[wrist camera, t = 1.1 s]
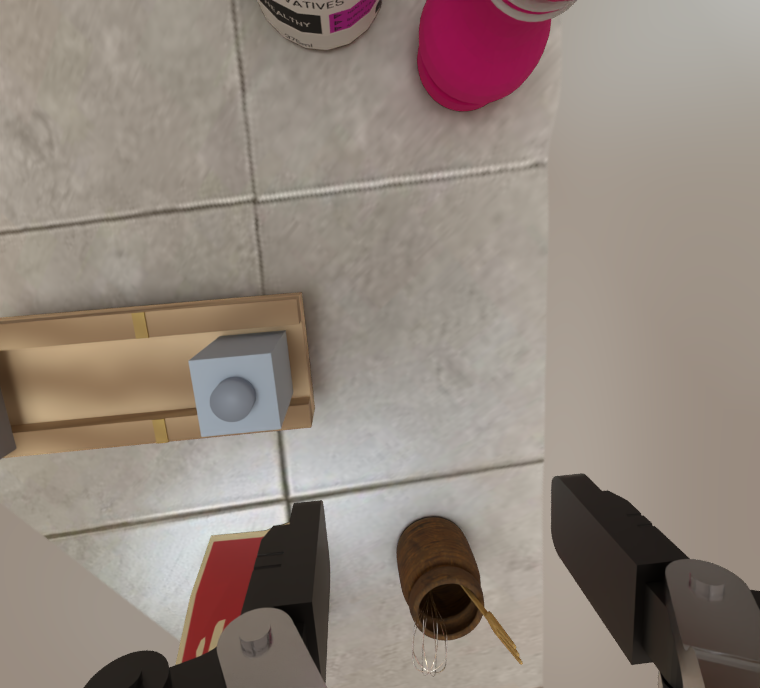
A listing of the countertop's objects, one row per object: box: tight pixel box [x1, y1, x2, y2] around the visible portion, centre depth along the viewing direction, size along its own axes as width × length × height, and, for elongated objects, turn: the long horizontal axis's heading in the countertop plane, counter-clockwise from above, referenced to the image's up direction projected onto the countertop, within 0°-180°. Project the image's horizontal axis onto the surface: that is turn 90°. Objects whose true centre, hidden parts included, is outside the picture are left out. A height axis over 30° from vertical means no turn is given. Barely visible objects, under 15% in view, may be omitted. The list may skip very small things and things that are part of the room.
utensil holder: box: [397, 517, 523, 677], centre depth 34 cm, size 6×6×12 cm
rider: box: [188, 330, 293, 437], centre depth 26 cm, size 4×4×7 cm
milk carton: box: [176, 522, 290, 665], centre depth 29 cm, size 9×9×20 cm
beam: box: [0, 292, 315, 459], centre depth 30 cm, size 8×20×10 cm, turn 94°
